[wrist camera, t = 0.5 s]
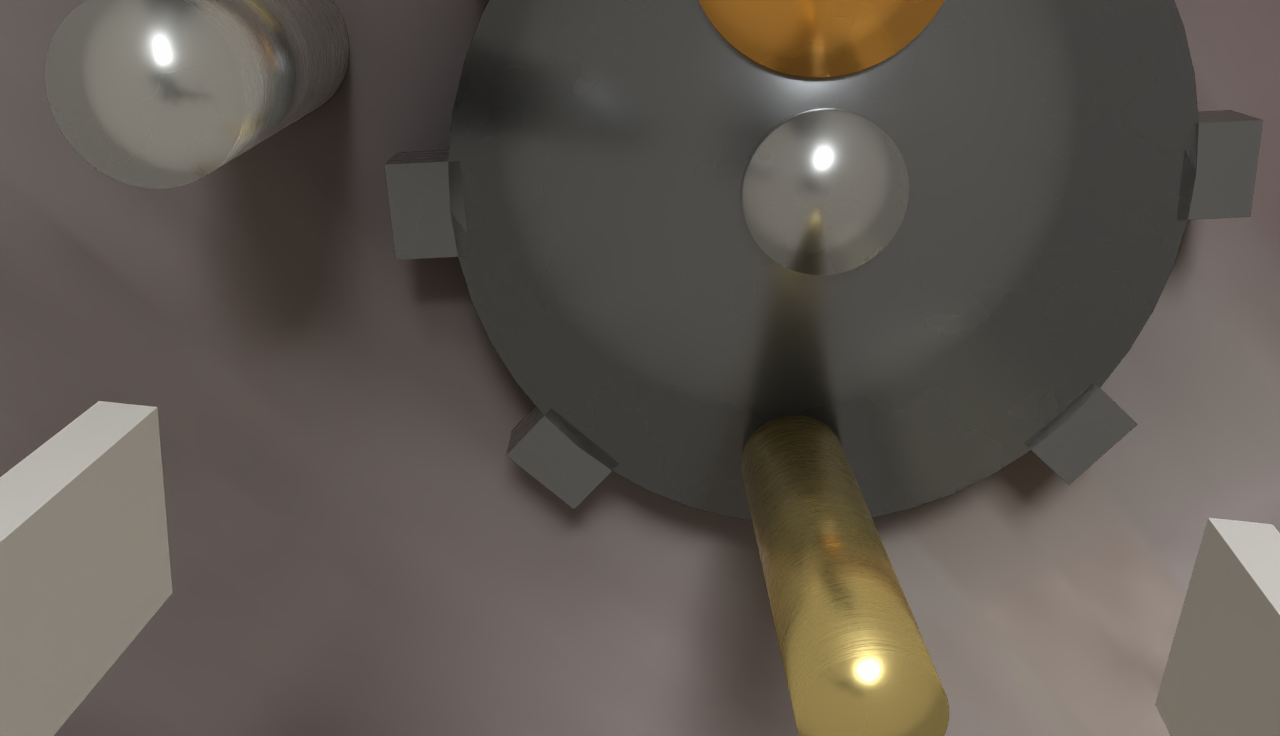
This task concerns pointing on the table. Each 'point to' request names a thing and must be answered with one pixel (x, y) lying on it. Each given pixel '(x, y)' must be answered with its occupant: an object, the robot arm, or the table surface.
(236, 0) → the roller
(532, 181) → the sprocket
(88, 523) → the robot arm
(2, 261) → the table surface
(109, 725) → the table surface
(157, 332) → the table surface
